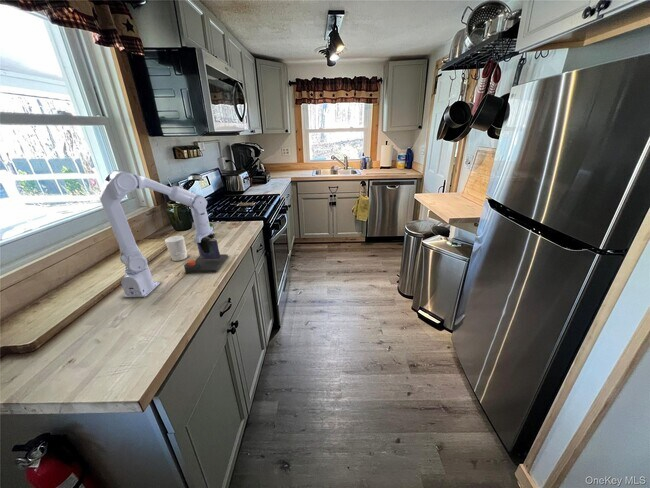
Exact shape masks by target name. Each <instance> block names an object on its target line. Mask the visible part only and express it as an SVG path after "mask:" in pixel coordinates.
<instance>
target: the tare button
mask: <svg viewBox="0 0 650 488" xmlns="http://www.w3.org/2000/svg"><path fill="white" fill-rule="evenodd" d="M195 260H196V259H190V260H187V262H186V263H187V264H188V266H194V265H195Z"/></svg>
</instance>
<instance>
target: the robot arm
mask: <svg viewBox="0 0 650 488" xmlns="http://www.w3.org/2000/svg"><path fill="white" fill-rule="evenodd" d="M136 189H138V190H142V189H149V190H152V191H154V192H158V193H161V194H164V195H167V196H168V198H169V200H171V201H173V202H175V203H179V204H182V205H185V206H188V207H189V208H190V211H191V215H192V220H193V223H194V229H195V232H196V233H195V236H194V239H193V240H194V243H195V244H197V243H198V244H199V245H200V247H201V248H202V250H203V252H204V253H209V252H210V250H209V241H210V239H212V238H213V239H215V230H214V231H213V226H214V225H213V226H211V227H210V224H209V223H210V221H209V215H208V211H207V205H208V200H207V199H206V198H205V196H203V195H201V194H197V193H196V191H193V190H192V191H190V190H187V189H185V188H184V186H182V185H174V186H169V185H166V184H163V183H161V182H158V181H156V180H153V179H151V178H150V177H149V178H148V177H147V176H143V175H139V174H135V173H131V172H127V171H124V170H117V169H116V170H112V171H111V172H109V173H108V174H107V175H106V177H104V180H103V185H102V187H101V190H100V193H99V201H100V203H101V206H102V209H103V210H104V213H105V215H106V218H107V220H108V223H109V224H110V227H111V230H112V232H113V234H114V237H115V239H116V241H117V244H118V247H119V251H120V257H119V260H120V262H121V264H123V265H124V266H125V268H124V276H123V277H122V278H121V280H120V283H121V286H122V289H123V291H124V294H125V295H124V296H123V297H124V298H143V297H144V298H145V297H147V296H148V295H150V293H151V292H153V291H154V289H156V288H157V287H158V286H159V285H160V284H161V282H160V281H154V279H153V276H152V273H151V270H150V267H149V265H148V264H149V262H148V259H147V258H146V257H145V256H144V255H143V253H142V251H141V250H140V248H139V247H138V245H137V242H136V240H135V237H134V235H133V232H132V230H131V227H130V224H129V222H128V219H127V216H126V214H125V211H124V209H123V207H122V204H121V202H122V200H123V199H124V198H125V197H126V195H129V194H130V193H131V192H133V191H135V190H136ZM206 236H208V237H209V239H206V238H205V237H206Z"/></svg>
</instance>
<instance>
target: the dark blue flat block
mask: <svg viewBox="0 0 650 488" xmlns="http://www.w3.org/2000/svg"><path fill="white" fill-rule="evenodd" d="M205 238H206V239H209V237H208V236H206V237H205ZM196 246H197V249H198V254H199V256H200V259H220V248H219V244H218V240H217V239H216V238H212V239H210V241H209V250H210V252H209V253H204V252H203V250H202V248H201V247H200V245H199V244H198V243H196Z"/></svg>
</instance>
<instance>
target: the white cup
mask: <svg viewBox="0 0 650 488" xmlns="http://www.w3.org/2000/svg"><path fill="white" fill-rule="evenodd" d="M164 243H165V246H166V249H167V251H168V254H169V256H170V258H171V260H172V261H175V262H179V261H183V260H185V259H187V258H188V252H187V246H186V241H185V237H184V236H183V235H174V236H173V235H172V236H169V237H167V238H165V239H164Z"/></svg>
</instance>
